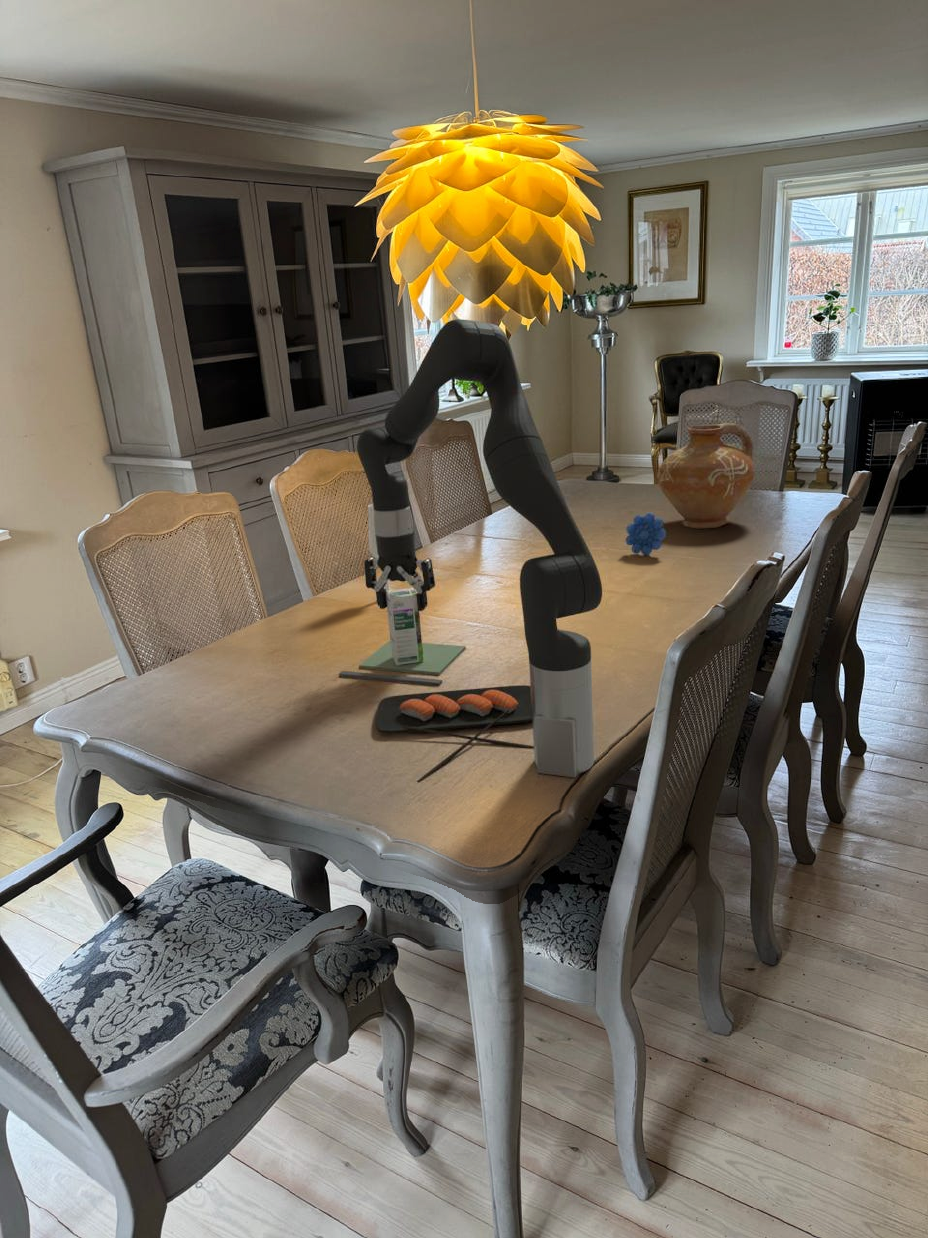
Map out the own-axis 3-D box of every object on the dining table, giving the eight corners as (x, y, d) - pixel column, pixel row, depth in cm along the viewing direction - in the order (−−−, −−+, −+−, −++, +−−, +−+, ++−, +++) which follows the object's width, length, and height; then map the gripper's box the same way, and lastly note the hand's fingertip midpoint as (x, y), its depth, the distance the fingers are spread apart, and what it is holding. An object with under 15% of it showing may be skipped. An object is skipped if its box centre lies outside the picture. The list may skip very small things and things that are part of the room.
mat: (439, 675, 169) (439, 672, 169) (359, 667, 176) (358, 665, 176) (465, 648, 181) (465, 646, 181) (389, 643, 188) (389, 640, 188)
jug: (650, 516, 277) (649, 422, 267) (739, 510, 276) (742, 415, 265) (666, 538, 251) (666, 435, 241) (765, 532, 249) (769, 427, 239)
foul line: (439, 685, 164) (438, 683, 164) (339, 676, 173) (338, 673, 173) (442, 682, 166) (442, 679, 166) (342, 673, 174) (342, 670, 174)
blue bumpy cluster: (671, 552, 237) (671, 510, 233) (662, 559, 231) (662, 515, 227) (632, 549, 243) (631, 507, 239) (622, 555, 238) (621, 513, 234)
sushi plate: (536, 692, 160) (535, 674, 158) (556, 774, 131) (555, 752, 130) (380, 706, 160) (377, 687, 158) (367, 790, 131) (364, 768, 130)
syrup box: (396, 666, 173) (389, 598, 169) (391, 656, 179) (385, 589, 174) (423, 662, 175) (418, 594, 170) (418, 652, 180) (412, 586, 175)
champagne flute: (397, 601, 215) (386, 507, 207) (371, 601, 217) (360, 508, 208) (404, 593, 221) (394, 501, 213) (379, 593, 223) (368, 502, 215)
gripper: (352, 534, 167) (362, 613, 172) (419, 535, 162) (427, 616, 167) (370, 525, 174) (379, 601, 179) (435, 526, 168) (442, 604, 174)
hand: (402, 608), depth 173 cm, fingers open, 8 cm apart
